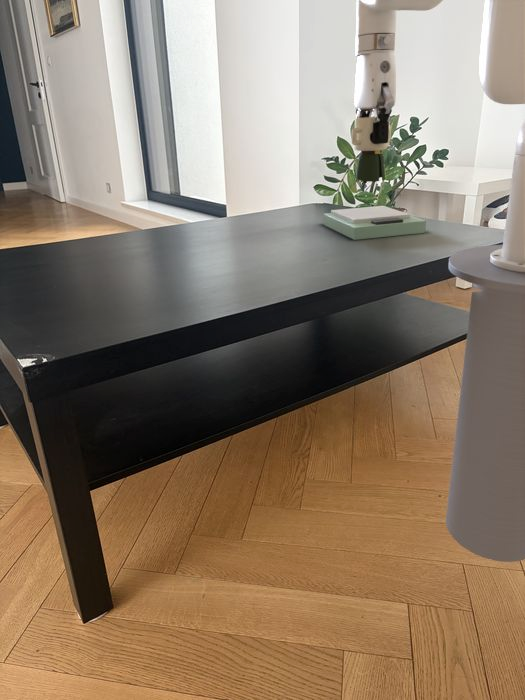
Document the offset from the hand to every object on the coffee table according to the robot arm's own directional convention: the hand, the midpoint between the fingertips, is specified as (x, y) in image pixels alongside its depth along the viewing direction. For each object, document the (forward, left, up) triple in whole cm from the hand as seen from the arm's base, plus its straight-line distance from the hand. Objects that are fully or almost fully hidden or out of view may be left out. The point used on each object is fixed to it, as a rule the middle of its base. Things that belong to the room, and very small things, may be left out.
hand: (371, 142), depth 115 cm
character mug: (0, 0, -8) cm, 8 cm away
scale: (-2, 0, -18) cm, 18 cm away
